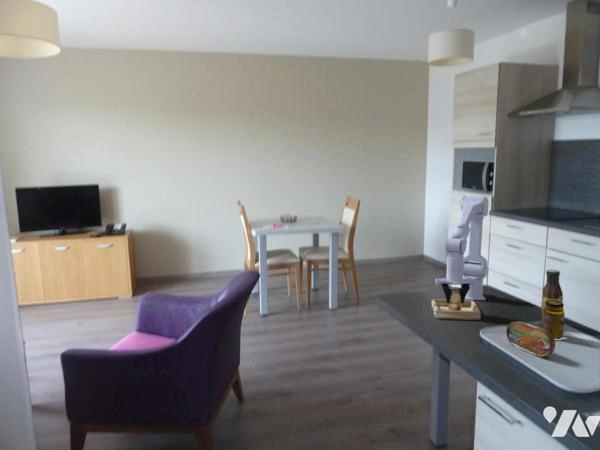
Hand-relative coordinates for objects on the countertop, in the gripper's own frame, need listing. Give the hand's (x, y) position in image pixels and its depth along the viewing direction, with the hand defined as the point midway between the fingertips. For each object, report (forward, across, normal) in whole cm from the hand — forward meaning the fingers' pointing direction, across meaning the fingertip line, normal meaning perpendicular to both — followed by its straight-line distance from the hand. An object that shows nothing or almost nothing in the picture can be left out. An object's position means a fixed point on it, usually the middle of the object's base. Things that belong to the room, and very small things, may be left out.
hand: (454, 302), depth 165 cm
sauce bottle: (+4, +31, -10) cm, 33 cm away
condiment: (+4, +27, -20) cm, 34 cm away
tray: (+4, 0, 0) cm, 4 cm away
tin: (+4, +17, -32) cm, 37 cm away
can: (+2, 0, 0) cm, 2 cm away
